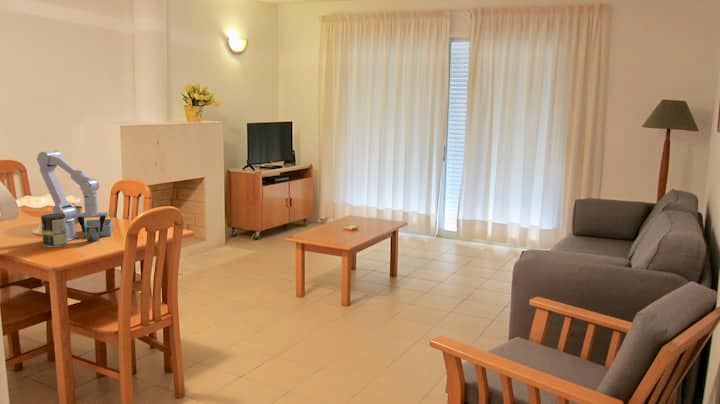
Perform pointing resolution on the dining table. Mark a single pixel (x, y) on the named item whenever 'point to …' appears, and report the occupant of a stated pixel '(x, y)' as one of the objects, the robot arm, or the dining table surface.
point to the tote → (105, 230)
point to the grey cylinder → (92, 234)
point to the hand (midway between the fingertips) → (92, 231)
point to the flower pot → (78, 212)
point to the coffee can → (54, 230)
